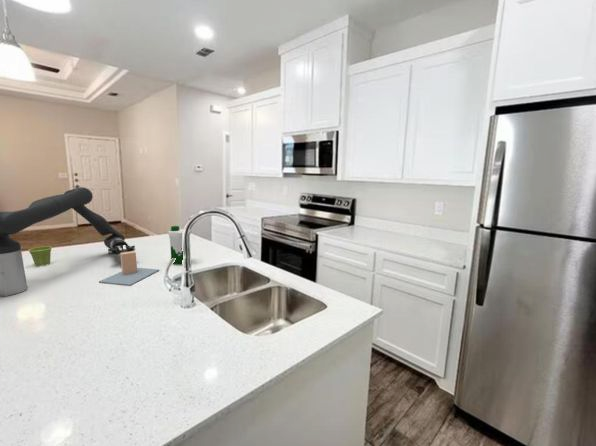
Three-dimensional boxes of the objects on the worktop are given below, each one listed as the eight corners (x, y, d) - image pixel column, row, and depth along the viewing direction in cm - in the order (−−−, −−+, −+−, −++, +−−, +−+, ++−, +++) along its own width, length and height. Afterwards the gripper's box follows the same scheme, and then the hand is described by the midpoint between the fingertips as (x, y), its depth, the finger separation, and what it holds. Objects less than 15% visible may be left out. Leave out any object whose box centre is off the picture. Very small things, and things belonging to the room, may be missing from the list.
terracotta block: (122, 272, 144) (120, 252, 143) (135, 270, 148) (134, 250, 146) (123, 274, 142) (121, 254, 140) (137, 272, 146) (135, 252, 144)
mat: (130, 285, 131) (130, 284, 130) (98, 282, 133) (98, 281, 133) (159, 270, 150) (159, 269, 150) (131, 268, 153) (131, 267, 153)
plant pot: (43, 267, 151) (41, 251, 150) (25, 267, 151) (23, 250, 150) (58, 261, 160) (56, 246, 159) (41, 261, 161) (39, 245, 159)
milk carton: (178, 259, 168) (175, 224, 164) (192, 260, 166) (190, 225, 162) (168, 264, 159) (165, 227, 156) (183, 265, 158) (181, 228, 154)
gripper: (104, 241, 159) (108, 248, 146) (132, 237, 167) (138, 244, 154) (105, 254, 160) (110, 263, 147) (133, 250, 169) (140, 258, 155)
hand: (125, 253), depth 151 cm, fingers closed
